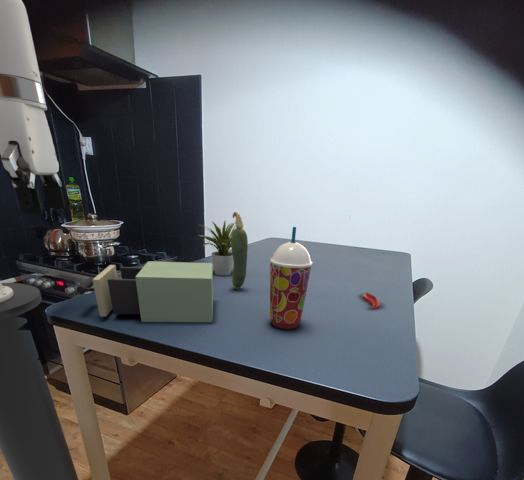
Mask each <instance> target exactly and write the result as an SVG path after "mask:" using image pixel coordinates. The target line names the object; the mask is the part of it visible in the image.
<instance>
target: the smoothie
mask: <svg viewBox="0 0 524 480" xmlns="http://www.w3.org/2000/svg"><path fill="white" fill-rule="evenodd" d="M296 234H297V227H296V226H293V227H292V232H291V241H288V242H285V243H283V244H280V246H278V247H277V248H276V250H275V251H274V252H273V255H272V256H271V257H270V259H269V263H270V265H269V278H270V279H269V320H270V321H271V324H272V325H273V326H274V327H276V328H278V329H281V330H292V329H295V328H297V327H298V326H299V323H301V321H302V318H303V312H304V306H305V300H306V296H307V291H308V285H309V280H310V275H311V269H312V266H313V261H311V256H310V253H309V251H308V250H307V248H306V247H304V245H302V244H301V243H299V242H297V241H296V236H297V235H296Z"/></svg>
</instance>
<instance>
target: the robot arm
mask: <svg viewBox="0 0 524 480" xmlns="http://www.w3.org/2000/svg"><path fill="white" fill-rule="evenodd" d="M45 111H48V107H47V102H46V98H45V92H44V87H43V84H42V78H41V74H40V69H39V64H38V59H37V54H36V49H35V44H34V40H33V35H32V30H31V26H30V21H29V15H28V13H27V8H26V6H25V3H24V2H23V0H0V160H1V162H2V166H3V168H4V169H5V170H6V171H7V172H6V173H7V176H8V177H9V178H10V180H11V184H12V187H13V188H15V193H16V195H17V200H18V203H19V206H20V210H21V212H22V213H23V214H30V215H32V214H33V215H42V214H43V213H44V210H43V205H42V203H41V202H42V201H41V197H40V194H39V190H38V188H35V181H36V175H38V176H39V178H40V179H41V182H42V183H43V185H42V190H43V195H44V200H45V203H46V204H45V205H46V207H47V208H48V209H57V210H58V209H59V210H65V209H66V204H65V198H64V194H63V190H62V181H61V178H60V177H61V173H60V164H59V163H60V162H59V161H58V158H57V152H56V148H55V145H54V141H53V136H52V133H51V130H50V126H49V123H48V119H47V116H46V113H45ZM1 283H2V280H0V302H3V301H6V300H8V299H10V298H11V297H12V296H13V295H14V293H13V290H12V289H11V288H10V287H7V286H2V284H1Z"/></svg>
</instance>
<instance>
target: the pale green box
mask: <svg viewBox="0 0 524 480" xmlns="http://www.w3.org/2000/svg"><path fill="white" fill-rule="evenodd" d="M142 267H143V268H142V269H141V271H140V272H139V273H138V274H137V275H136V277H135V278H136V285H137V293H138V300H139V308H140V314H139V315H140V321H141V322H140V323H213V319H214V265H213V262H187V261H186V262H181V261H151V260H150V261H149V260H148V261H147V262H146V263H145V264H144V266H142Z"/></svg>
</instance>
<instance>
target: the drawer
mask: <svg viewBox="0 0 524 480" xmlns="http://www.w3.org/2000/svg"><path fill="white" fill-rule="evenodd" d="M143 267H144V266H142V267H141V266H140V267H138V266H137V267H136V266H120V267H119V271H120V275H121V277H120V278H118V271H117V266H116V264H109V265H108V266H107V267H106V268H104V269H103V270H102V271H100V272H99V273H98V274H97V275H96V276H95V277H94V276H89V277H88V278H87V279H85V281H83V282H82V283H80V284H79V285H78V286H77V287H76V289H75V290H76V292H77V293H78V294H80V295H84V294H85V293H86V292H94V294H95V298H96V304H97V309H98V315H99V317H101V318H102V317H103V318H104V317H107V316H108V315H109V314H110V312H111V311H112V314H113V315H140V308H139V300H138V293H137V285H136V278H135V277H136V275H137V274H138V273H139V272H140V271H141V269H142V268H143Z"/></svg>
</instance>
